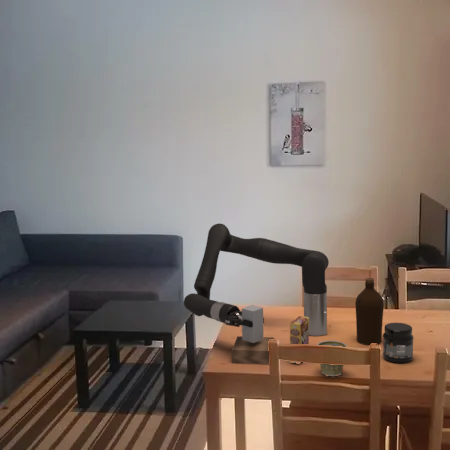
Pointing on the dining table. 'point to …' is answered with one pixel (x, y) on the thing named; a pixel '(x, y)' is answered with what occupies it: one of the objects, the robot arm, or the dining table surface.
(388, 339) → the supplement container
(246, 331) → the grey block
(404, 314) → the dining table surface
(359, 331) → the olive oil
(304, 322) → the candy box
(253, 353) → the walnut plinth
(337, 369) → the ceramic cup
